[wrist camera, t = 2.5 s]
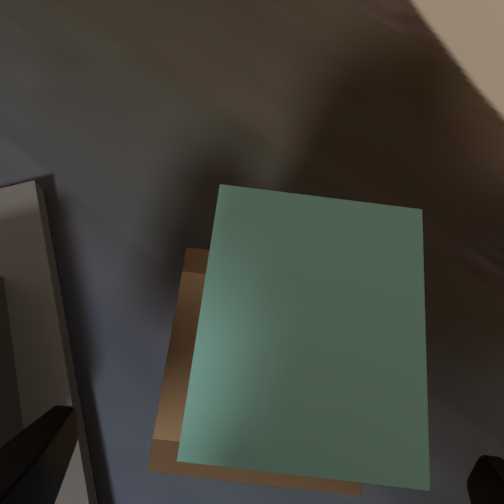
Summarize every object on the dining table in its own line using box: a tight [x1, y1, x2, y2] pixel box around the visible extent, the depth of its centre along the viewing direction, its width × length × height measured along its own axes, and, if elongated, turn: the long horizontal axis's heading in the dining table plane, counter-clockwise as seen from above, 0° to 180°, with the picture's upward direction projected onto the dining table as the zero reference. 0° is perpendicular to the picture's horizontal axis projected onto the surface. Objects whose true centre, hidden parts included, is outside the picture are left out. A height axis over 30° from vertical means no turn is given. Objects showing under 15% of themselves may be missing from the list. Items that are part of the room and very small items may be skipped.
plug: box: [177, 184, 430, 491], centre depth 13 cm, size 4×4×13 cm
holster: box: [147, 247, 361, 496], centre depth 17 cm, size 8×7×4 cm
